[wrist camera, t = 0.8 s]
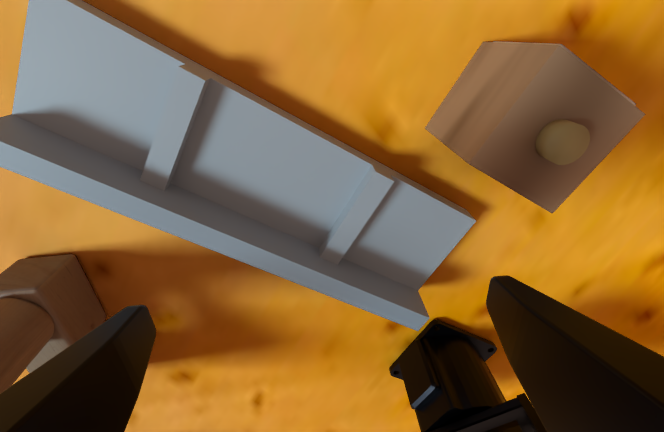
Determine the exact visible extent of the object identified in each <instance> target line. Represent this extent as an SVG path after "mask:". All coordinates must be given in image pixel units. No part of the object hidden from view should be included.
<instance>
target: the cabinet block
mask: <svg viewBox="0 0 664 432" xmlns="http://www.w3.org/2000/svg"><path fill="white" fill-rule="evenodd" d="M635 105H636V103H634V102H633V101H632V100H631V99H629V98H628V97H627V96H626V95H624V94H623V93H622V92H621V91H619V90H618V89H617V88H616V87H614V86H613V85H612V84H611V83H610V82H608V81H607V80H606V79H605V78H603V77H602V76H601V75H600V74H598V73H597V72H596V71H595V70H593V69H592V68H591V67H590V66H588V65H587V64H586V63H585V62H583V61H582V60H581V59H580V58H579V57H577V56H576V55H575V54H574V53H572V52H571V51H570V50H569V49H567V48H566V47H565V46H564V45H562V44H550V43H525V42H500V41H493V42H483V43H482V44H481V46H480V47H479V49H478V50H477V52H476V53H475V55H474V56H473V57H472V59H471V60H470V62H469V63H468V65H467V66H466V68H465V69H464V71H463V72H462V74H461V75H460V77H459V78H458V80H457V81H456V83H455V84H454V86H453V87H452V89H451V90H450V92H449V93H448V95H447V96H446V98H445V99H444V100H443V102H442V103H441V105H440V106H439V108H438V109H437V111H436V112H435V114H434V115H433V117H432V118H431V120H430V121H429V123H428V124H427V126H426V127H425V129H426V130H427V131H429V132H430V133H431V134H432V135H434V136H435V137H436V138H437V139H439V140H440V141H441V142H442V143H444V144H445V145H446V146H447V147H448V148H450V149H451V150H452V151H453V152H455V153H456V154H457V155H458V156H460V157H461V158H462V159H463V160H465V161H466V162H467V163H468V164H470V165H472V166H473V167H475V168H477V169H478V170H480V171H482V172H483V173H485V174H487V175H488V176H490V177H492V178H493V179H495V180H497V181H499V182H500V183H502V184H504V185H505V186H507V187H509V188H510V189H512V190H514V191H515V192H517V193H519V194H520V195H522V196H524V197H525V198H527V199H529V200H530V201H532V202H534V203H535V204H537V205H539V206H541V207H542V208H544V209H546V210H547V211H549V212H551V213H553V212H554V211H555V210H556V209H557V208H558V207H559V206H560V205H561V204H562V203H563V202H564V201H565V200H566V198H567V197H568V196H569V195H570V194H571V193H572V192H573V191H574V190H575V189H576V188H577V187H578V186H579V185H580V184H581V182H582V181H583V180H584V179H585V178H586V177H587V176H588V175H589V174H590V173H591V172H592V171H593V170H594V169H595V168H596V166H597V165H598V164H599V163H600V162H601V161H602V160H603V159H604V158H605V157H606V156H607V155H608V154H609V153H610V152H611V150H612V149H613V148H614V147H615V146H616V145H617V144H618V143H619V142H620V141H621V140H622V139H623V138H624V137H625V136H626V134H627V133H628V132H629V131H630V130H631V129H632V128H633V127H634V126H635V125H636V124H637V123H638V122H639V121H640V120H641V118H642V117H643V116H644V115H645V114H644V113H643V112H642V111H641V110H639V109H638V108H637V107H636V106H635Z"/></svg>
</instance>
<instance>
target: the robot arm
mask: <svg viewBox="0 0 664 432" xmlns="http://www.w3.org/2000/svg"><path fill="white" fill-rule="evenodd" d="M486 305H487V309H488V312H489V314H490V317H491V319H492V322H493V324H494V327H495V329H496V331H497V334H498V336H499V339H500V341H501V343H502V346H503V348H504V351H505V353H506V355H507V358H508V360H509V362H510V364H511V366H512V368H513V370H514V372H515V374H516V376H517V378H518V379H519V381H520V383H521V385H522V387H523V389H524V390H525V392H526V394H527V396H528V398H529V399H528V398H527V396H526V395H525V393H523V394H520V395H517V398H514V399H512V400H509V401H506V400H505V398H504V396H503V394H502V392H501V390H500V388H499V387H498V385H497V383H496V381H495V379H494V377H493V376H492V374H491V372H490V370H489V368H488V366H487V364H486V363H485V361H486V360H487V359H488V358H490V357H491V356H492V355H493V354H494V353H495V352H496V350H497V348H496V346H495V344H494V343H493V342H491V341H488V340H486V339H483V338H481V337H479V336H476V335H474V334H471V333H469V332H466V331H464V330H462V329H459V328H457V327H454V326H452V325H450V324H447V323H445V322H442V321H440V320H434V321H432V322H430V323H429V324H428V326H427V327H426V328H425V329H424V330H423V331H422V332H421V333H420V334H419V336H418V337H417V338H416V339H415V340H414V341H413V342H412V343H411V344H410V345H409V347H408V348H407V349H406V350H405V351H404V352H403V353H402V354H401V355H400V357H399V358H398V359H397V360H396V361H395V362H394V363H393V364H392V365H391V366H390V368H389V370H390V374H391V376H393V377H396V378H399V379H402V380H404V383H405V387H406V391H407V394H408V398H409V401H410V405H411V408H412V409H415V412H416V416H417V419H418V423H419V426H420V430H421V432H664V357H663V356H661V355H660V354H658V353H656V352H654V351H652V350H650V349H648V348H646V347H644V346H642V345H640V344H638V343H637V342H635V341H633V340H631V339H629V338H627V337H625V336H623V335H621V334H619V333H617V332H616V331H614V330H612V329H610V328H608V327H606V326H604V325H602V324H600V323H598V322H596V321H595V320H593V319H591V318H589V317H587V316H585V315H583V314H581V313H579V312H577V311H575V310H573V309H572V308H570V307H568V306H566V305H564V304H562V303H560V302H558V301H556V300H554V299H552V298H551V297H549V296H547V295H545V294H543V293H541V292H539V291H537V290H535V289H533V288H531V287H530V286H528V285H526V284H524V283H522V282H520V281H518V280H516V279H514V278H512V277H510V276H495V277H493V278H492V279H491V280H490V285H489V290H488V295H487V300H486ZM436 326H437V327H436ZM155 337H156V328H155V325H154V323H153V320H152V318H151V315H150V313H149V310H148V308H147V307H146V306H145V305H134V306H128V307H126V308H124V309H123V310H121V311H120V312H118V313H117V314H115V315H114V316H113V317H111V318H110V319H108V320H107V321H105V322H104V323H102V324H101V325H99V326H98V327H97V328H95V329H94V330H92V331H91V332H89V333H88V334H86V335H85V336H83V337H82V338H80V339H79V340H78V341H76V342H75V343H73V344H72V345H70V346H69V347H67V348H66V349H64V350H63V351H62V352H60V353H59V354H57V355H56V356H54V357H53V358H51V359H50V360H48V361H47V362H45V363H44V364H43V365H41V366H40V367H38V368H37V369H35V370H34V371H32V372H31V373H29V374H28V375H27V376H25V377H24V378H22V379H21V380H19V381H18V382H16V383H15V384H13V385H12V386H10V387H9V388H8V389H6V390H5V391H3V392H2V393H0V432H124V431H125V429H126V426H127V424H128V421H129V419H130V416H131V414H132V411H133V409H134V406H135V404H136V401H137V398H138V396H139V393H140V389H141V386H142V383H143V379H144V376H145V372H146V369H147V365H148V362H149V358H150V355H151V351H152V348H153V345H154V341H155ZM529 400H530V401H531V403H532V404H531V403H530V401H529ZM532 405H533V406H532Z"/></svg>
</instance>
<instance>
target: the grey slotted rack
mask: <svg viewBox="0 0 664 432" xmlns="http://www.w3.org/2000/svg"><path fill="white" fill-rule="evenodd" d="M0 167H2V168H5V169H7V170H10V171H12V172H15V173H17V174H20V175H22V176H25V177H28V178H30V179H33V180H35V181H38V182H40V183H43V184H45V185H48V186H50V187H53V188H56V189H58V190H61V191H63V192H66V193H68V194H71V195H73V196H76V197H78V198H81V199H84V200H86V201H89V202H91V203H94V204H96V205H99V206H101V207H104V208H106V209H109V210H111V211H114V212H117V213H119V214H122V215H124V216H127V217H129V218H132V219H134V220H137V221H139V222H142V223H145V224H147V225H150V226H152V227H155V228H157V229H160V230H162V231H165V232H167V233H170V234H172V235H175V236H178V237H180V238H183V239H185V240H188V241H190V242H193V243H195V244H198V245H200V246H203V247H206V248H208V249H211V250H213V251H216V252H218V253H221V254H223V255H226V256H228V257H231V258H233V259H236V260H239V261H241V262H244V263H246V264H249V265H251V266H254V267H256V268H259V269H261V270H264V271H267V272H269V273H272V274H274V275H277V276H279V277H282V278H284V279H287V280H289V281H292V282H294V283H297V284H300V285H302V286H305V287H307V288H310V289H312V290H315V291H317V292H320V293H322V294H325V295H328V296H330V297H333V298H335V299H338V300H340V301H343V302H345V303H348V304H350V305H353V306H355V307H358V308H361V309H363V310H366V311H368V312H371V313H373V314H376V315H378V316H381V317H383V318H386V319H389V320H391V321H394V322H396V323H399V324H401V325H404V326H406V327H409V328H411V329H414V330H416V331H418V330H419V329H420V328H421V327H422V326H423V325H424V324H425V323H426V321H427V320H428V319H429V316H428V313H427V311H426V309H425V306H424V304H423V302H422V299H421V297H420V295H419V292H418V290H419V289H420V287H421V286H422V285H423V284H424V283H425V282H426V280H427V279H428V278H429V277H430V276H431V274H432V273H433V272H434V271H435V270H436V268H437V267H438V266H439V265H440V264H441V262H442V261H443V260H444V259H445V258H446V256H447V255H448V254H449V253H450V252H451V251H452V249H453V248H454V247H455V246H456V245H457V243H458V242H459V241H460V240H461V239H462V237H463V236H464V235H465V234H466V233H467V231H468V230H469V229H470V228H471V227H472V225H473V224H474V223H475V222H476V220H475V219H474V218H473V217H472V216H471V214H470V213H469V212H468V211H467V210H466V209H464V208H462V207H460V206H459V205H457V204H455V203H453V202H451V201H449V200H447V199H446V198H444V197H442V196H440V195H438V194H436V193H435V192H433V191H431V190H429V189H427V188H425V187H424V186H422V185H420V184H418V183H416V182H414V181H413V180H411V179H409V178H407V177H405V176H403V175H402V174H400V173H398V172H396V171H394V170H392V169H391V168H389V167H387V166H385V165H383V164H381V163H380V162H378V161H376V160H374V159H372V158H370V157H369V156H367V155H365V154H363V153H361V152H359V151H358V150H356V149H354V148H352V147H350V146H348V145H347V144H345V143H343V142H341V141H339V140H337V139H336V138H334V137H332V136H330V135H328V134H326V133H324V132H323V131H321V130H319V129H317V128H315V127H313V126H312V125H310V124H308V123H306V122H304V121H302V120H301V119H299V118H297V117H295V116H293V115H291V114H290V113H288V112H286V111H284V110H282V109H280V108H279V107H277V106H275V105H273V104H271V103H269V102H268V101H266V100H264V99H262V98H260V97H258V96H257V95H255V94H253V93H251V92H249V91H247V90H246V89H244V88H242V87H240V86H238V85H236V84H235V83H233V82H231V81H229V80H227V79H225V78H224V77H222V76H220V75H218V74H216V73H214V72H212V71H211V70H209V69H207V68H205V67H203V66H201V65H200V64H198V63H196V62H194V61H192V60H190V59H189V58H187V57H185V56H183V55H181V54H179V53H178V52H176V51H174V50H172V49H170V48H168V47H167V46H165V45H163V44H161V43H159V42H157V41H156V40H154V39H152V38H150V37H148V36H146V35H145V34H143V33H141V32H139V31H137V30H135V29H134V28H132V27H130V26H128V25H126V24H124V23H123V22H121V21H119V20H117V19H115V18H113V17H112V16H110V15H108V14H106V13H104V12H102V11H101V10H99V9H97V8H95V7H93V6H91V5H89V4H88V3H86V2H84V1H82V0H29V4H28V10H27V17H26V24H25V31H24V37H23V44H22V51H21V57H20V64H19V71H18V78H17V84H16V91H15V98H14V104H13V111H12V114H11V115H8V116H4V117H0Z"/></svg>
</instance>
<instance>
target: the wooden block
mask: <svg viewBox="0 0 664 432" xmlns="http://www.w3.org/2000/svg"><path fill="white" fill-rule="evenodd" d="M105 319H106V314H105V312H104V310H103V308H102V306H101V304H100V302H99V300H98V298H97V297H96V295H95V293H94V291H93V289H92V287H91V285H90V283H89V281H88V279H87V277H86V275H85V273H84V271H83V270H82V268H81V266H80V264H79V262H78V260H77V258H76V256H74V255H72V254H67V255H57V256H47V257H36V258H26V259H20V260H18V261H16V262H15V263H14V264H12V265H11V266H10V267H9V268H7V269H6V270H5V271H3V272H2V273H1V274H0V393H2V392H3V391H5V390H6V389H8V388H9V387H10V386H11V385H12V384H13V383H14V382H15V381H16V379H17V378H18V377H19V376H20V375H21V373H22V372H23V371H24V370H25V369H27V370H28V371H29V373H31V372H32V371H34V370H35V369H37V368H38V367H40V366H41V365H43V364H44V363H45V362H47V361H48V360H50V359H51V358H53V357H54V356H56V355H57V354H59V353H60V352H62V351H63V350H64V349H66V348H67V347H69V346H70V345H72V344H73V343H75V342H76V341H78V340H79V339H80V338H82V337H83V336H85V335H86V334H88V333H89V332H91V331H92V330H94V329H95V328H97V327H98V326H99V325H101V324H102V323H103V322H104V321H105Z"/></svg>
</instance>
